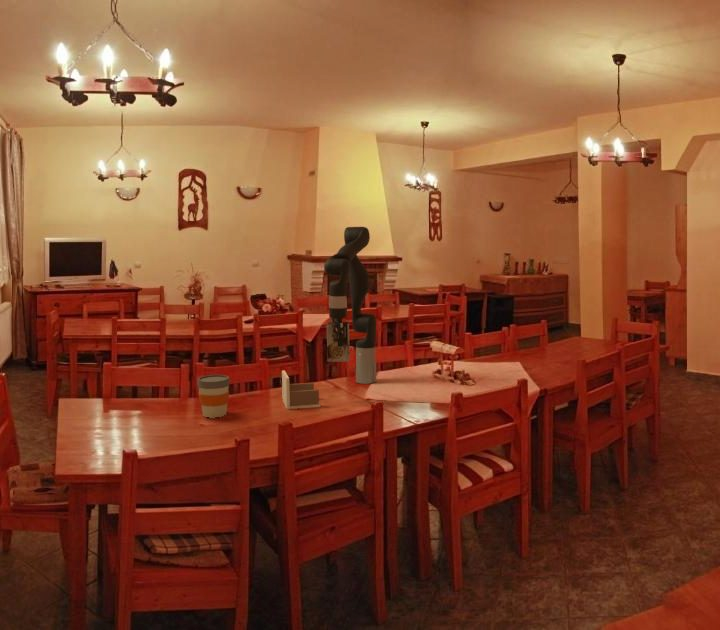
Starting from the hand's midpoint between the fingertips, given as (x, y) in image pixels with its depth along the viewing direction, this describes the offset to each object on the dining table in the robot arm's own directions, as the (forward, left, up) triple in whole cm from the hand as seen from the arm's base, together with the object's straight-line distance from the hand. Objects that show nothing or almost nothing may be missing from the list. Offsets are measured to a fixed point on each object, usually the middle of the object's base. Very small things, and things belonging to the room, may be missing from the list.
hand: (338, 344), depth 269 cm
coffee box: (0, 0, -7) cm, 7 cm away
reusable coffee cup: (+52, +6, -25) cm, 58 cm away
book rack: (+16, -2, -25) cm, 30 cm away
